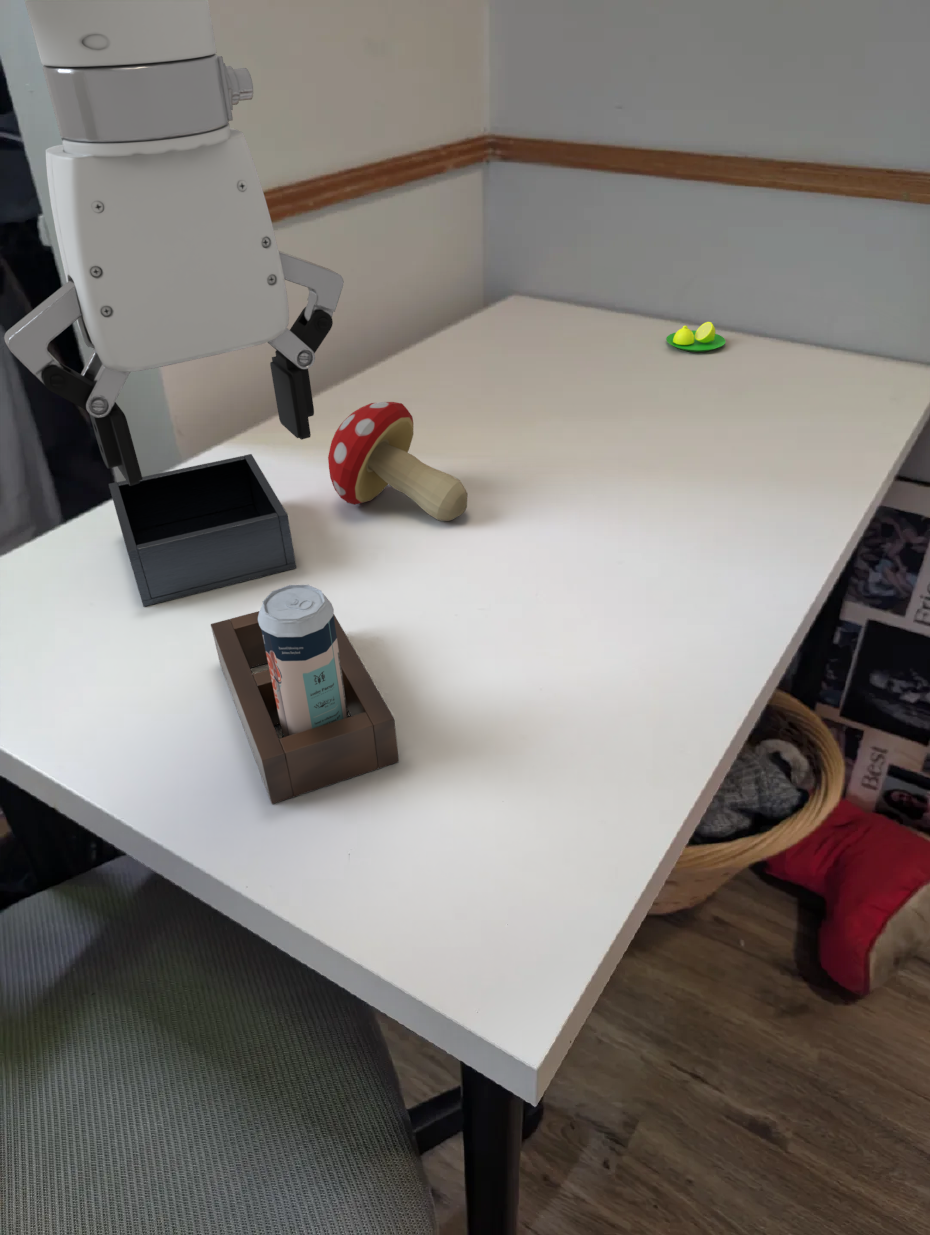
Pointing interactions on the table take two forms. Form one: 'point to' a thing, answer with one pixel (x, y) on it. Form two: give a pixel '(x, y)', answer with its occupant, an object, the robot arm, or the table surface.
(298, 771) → the rack
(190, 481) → the dark grey open box
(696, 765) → the table surface
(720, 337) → the lemon
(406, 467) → the decorative mushroom
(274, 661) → the beer can
